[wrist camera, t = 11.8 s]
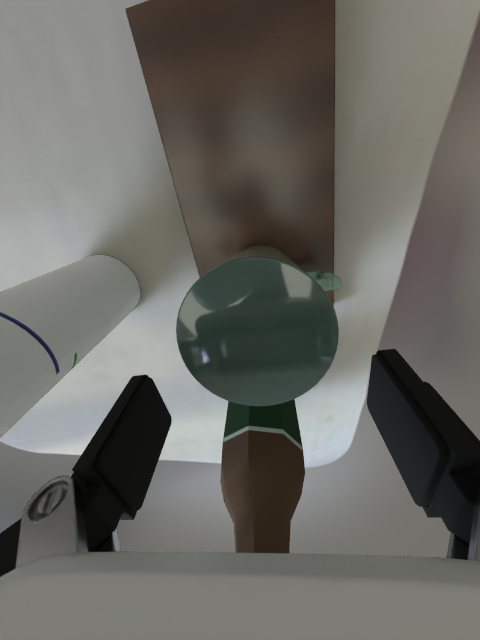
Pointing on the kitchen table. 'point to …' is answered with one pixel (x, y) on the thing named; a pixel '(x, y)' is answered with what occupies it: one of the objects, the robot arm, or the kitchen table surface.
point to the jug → (259, 328)
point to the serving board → (246, 121)
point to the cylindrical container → (57, 327)
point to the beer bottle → (262, 474)
